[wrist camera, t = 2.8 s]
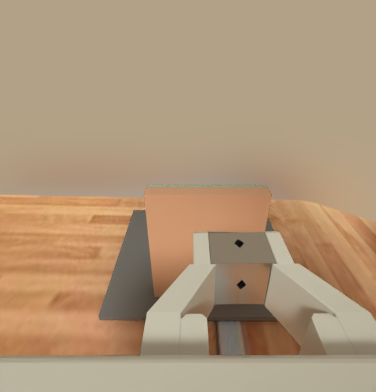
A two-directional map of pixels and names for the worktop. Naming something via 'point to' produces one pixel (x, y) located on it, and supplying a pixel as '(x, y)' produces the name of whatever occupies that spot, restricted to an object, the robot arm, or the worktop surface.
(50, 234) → the worktop surface
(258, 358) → the robot arm
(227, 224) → the tile
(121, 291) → the mat
